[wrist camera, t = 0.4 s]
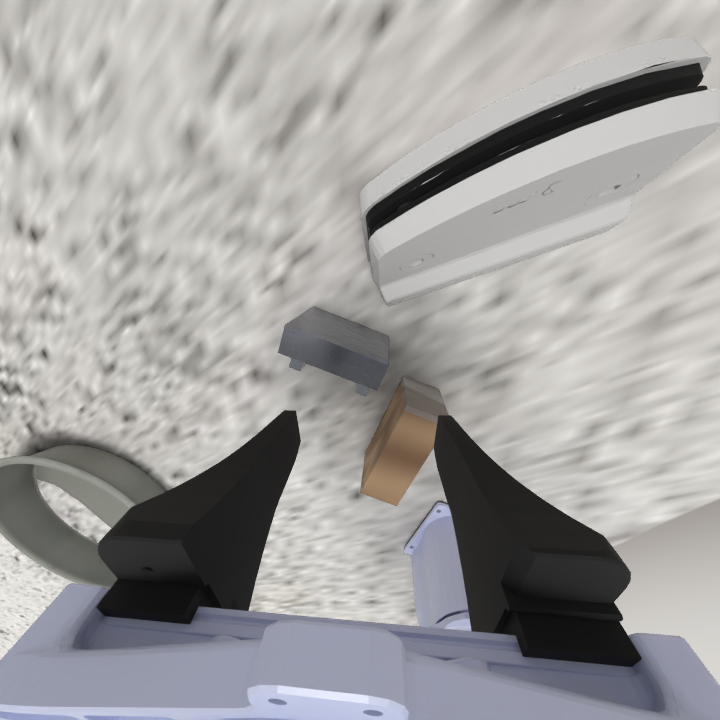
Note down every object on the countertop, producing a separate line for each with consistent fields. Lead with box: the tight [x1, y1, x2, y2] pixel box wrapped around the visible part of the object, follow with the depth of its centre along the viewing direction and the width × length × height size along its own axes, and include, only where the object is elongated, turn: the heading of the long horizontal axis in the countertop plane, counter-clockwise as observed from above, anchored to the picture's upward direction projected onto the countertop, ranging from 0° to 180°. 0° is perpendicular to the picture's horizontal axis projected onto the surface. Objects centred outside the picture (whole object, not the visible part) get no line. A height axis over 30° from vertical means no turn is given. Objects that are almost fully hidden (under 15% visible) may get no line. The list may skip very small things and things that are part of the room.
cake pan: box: [0, 445, 166, 590], centre depth 34 cm, size 25×25×4 cm
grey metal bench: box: [278, 307, 389, 396], centre depth 20 cm, size 5×7×6 cm
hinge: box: [359, 35, 720, 306], centre depth 15 cm, size 17×5×10 cm, turn 110°
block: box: [360, 376, 448, 506], centre depth 23 cm, size 10×4×5 cm, turn 160°
